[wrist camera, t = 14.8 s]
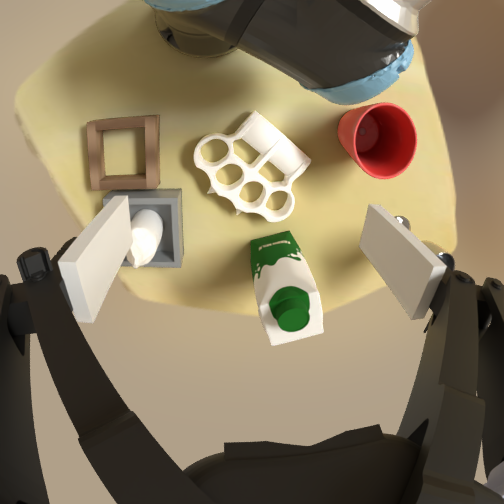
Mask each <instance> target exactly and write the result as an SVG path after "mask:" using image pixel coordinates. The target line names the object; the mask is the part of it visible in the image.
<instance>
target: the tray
mask: <svg viewBox="0 0 504 504" xmlns="http://www.w3.org/2000/svg"><path fill="white" fill-rule="evenodd" d="M127 195H128V203H129V213H130V222H131V221H132V219H133V217H134V216H135V214H136V213H137V212H138V211H140V210H143V209H150V210H152V211H155V212H156V213H157V214H159V216H160V217H161V218H162V220H163V224H164V227H163V232H162V237H161V240H160V243H159V245H158V247H157V250H156V253H155V255H154V257H153V258H152V259H151V261H150V262H149V263H148V264H145V265H142V266H139V267H172V268H181V265H182V260H183V255H184V247H183V223H182V189H122V190H112V191H110V192H109V193H108V194H107V195H106V196H105V197H104V198H103V206H104V207H105V206H106V204H107V203H108V202H109V201H110V200H111V199H112V198H113V197H114V196H127ZM121 266H132V264H131V263H130V262H129V261H128V260H127V256H125V258H124V260H123V262H122V264H121ZM132 267H133V266H132Z"/></svg>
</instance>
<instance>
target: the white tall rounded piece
mask: <svg viewBox="0 0 504 504" xmlns="http://www.w3.org/2000/svg"><path fill="white" fill-rule="evenodd" d="M130 223H131V231H132V239H133V243H132V245H131V247H130V248H129V250H128V252H127V254H126V256H127V260H128V261H129V262H130V263H131V264H132V266H133V268H135V269H137V268H138V267H139V266H142V265H145V264H148V263H149V262H150V261H151V259H152V258H153V257H154V255H155V253H156V250H157V247H158V245H159V243H160V240H161V237H162V232H163V227H164V224H163V220H162V218H161V217H160V216H159V214H157V213H156V212H155V211H152V210H150V209H143V210H140V211H138V212H137V213H136V214H135V216H134V217H133V219H132V221H131V222H130Z"/></svg>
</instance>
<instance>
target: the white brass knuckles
mask: <svg viewBox="0 0 504 504" xmlns="http://www.w3.org/2000/svg"><path fill="white" fill-rule="evenodd" d="M240 138H242V139H243V140H244V141H246V142H247V143H248V144H249V145H251V146H252V147H253V148H254V149H255V150H257V151H258V152H259V153H260V155H259V156H258V157H257V158H256V160H255V161H254V162H253V163H251V164H247V163H245V162H244V161H243V160H242V159H240V158H239V157H238V156H237V155H235V154H234V153H233V142H234V141H235V140H238V139H240ZM212 139H220V140H223V141H224V142H225V143H226V144H227V145H228V148H229V150H228V153H227V155H226V156H225V157H223V158H222V159H220V160H219V161H217V162H208V161H206V160H204V159H203V157H202V156H201V152H200V150H201V147H202V146H203V145H204V144H205V143H207V142H208V141H210V140H212ZM267 160H269V161H270V162H271V163H272V164H273V165H275V166H276V167H277V168H278V169H279V170H280V171H282V172H283V173H284V174H285V176H284V180H283V181H275V182H269V181H267V180H266V179H265V178H264V177H263V176H261V175H260V174H259V173H258V170H259V169H260V168H261V167H262V166H263V165H264V164H265V162H266V161H267ZM194 163H195V165H196V167H197V168H200V169H202V170H203V171H204V172H205V173H206V174H207V175H208V177H209V179H210V183H211V187H210V189H209V191H208V193H207V194H209V193H215V192H216V193H217V194H218V195H219V196H223V197H226V198H227V199H229V200H230V201H231V202H232V203H233V204H234V206H235V208H236V216H237V215H238V214H239V213H241V212H242V211H243V212H246V213H250V212H252V213H258V214H260V215H262V216H263V217H264V218H265V219H266V220H267V221H268V222H279V221H282V220H284V219H285V218H287V217H288V216H289V215H290V214H291V212H292V210H293V208H294V203H295V201H294V196H293V194H292V192H291V185H292V182H293V181H294V180H295V179H296V178H297V177H299V176H300V175H301V174H302V173H303V172H304V171H305V170H306V168H307V167H308V166H309V164H310V163H311V159H310V158H309V157H308V156H307V155H306V154H305V153H303V152H302V151H301V150H300V149H299V148H298V147H297V146H296V145H295V144H294V143H292V142H291V141H290V140H289V139H288V138H287V137H286V136H285V135H284V134H282V133H281V132H280V131H279V130H278V129H277V128H275V127H274V126H273V125H272V124H271V123H270V122H269V121H267V120H266V119H265V118H264V117H263V116H261V115H260V114H259V113H258V112H257V111H255V110H254V111H253V112H252V113H251V114H250V115H249V116H248V117H247V118H246V120H245V121H244V122H243V123H242V124H241V125H240V126H239V128H238V129H237V130H236V131H235V133H234V134H230V135H224V134H221V133H211V134H208V135H206V136H204V137H203V138H202V139H201V140H200V141H199V142H198V144H197V146H196V148H195V150H194ZM227 164H236V165H238V166H239V167H240V168H241V169H242V170H243V173H242V176H241V178H240V179H239V180H238V181H236V182H234V183H233V184H230V185H223V184H221V183H219V182H218V181H217V179H216V177H215V174H216V172H217V171H218V170H219V169H220V168H222V167H223V166H225V165H227ZM251 181H256V182H259V183H260V184H262V185H263V190H262V193H261V195H260V197H259V198H258V199H257V200H256V201H254V202H245V201H243V200H242V199H241V198H240V197H239V193H240V191H241V189H242V187H243V186H244V185H245V184H246V183H248V182H251ZM275 191H285V192H286V193H288V198H287V200H286V202H285V204H284V206H283V207H282V208H281V209H279V210H269V209H268V208H266V207H265V205H266V202H267V200H268V198H269V196H270V195H271V194H272V193H273V192H275Z"/></svg>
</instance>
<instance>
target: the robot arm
mask: <svg viewBox="0 0 504 504" xmlns="http://www.w3.org/2000/svg"><path fill="white" fill-rule="evenodd" d="M144 1H145V3H147V4H149V5H150V6H151V7H152V8H153V9H154V10H155V11H156V14H155V19H156V25H157V28H158V31H159V33H160V35H161V36H162V38H163V39H164V40H165V41H166V42H167V43H168V44H169V45H170V46H171V47H173V48H174V49H176V50H177V51H179V52H181V53H183V54H186V55H189V56H193V57H201V58H209V57H217V56H221V55H225V54H228V53H230V52H232V51H234V50H236V49H238V48H239V49H241V50H243V51H245V52H246V53H248V54H250V55H252V56H254V57H256V58H258V59H260V60H262V61H264V62H265V63H267V64H269V65H271V66H273V67H274V68H276V69H278V70H280V71H281V72H283V73H285V74H286V75H288V76H290V77H291V78H293V79H295V80H296V81H298V82H299V84H300V85H301V86H302V87H303V88H305V89H307V90H310V91H312V92H315V93H317V94H318V95H320V96H322V97H323V98H325V99H327V100H328V101H330V102H332V103H336V104H339V105H353V104H357V103H361V102H364V101H366V100H369V99H371V98H373V97H375V96H376V95H378V94H380V93H381V92H383V91H384V90H386V89H387V88H389V87H390V86H391V85H392V84H393V83H394V82H396V81H397V80H398V79H399V75H398V74H399V73H401V72H403V71H405V70H406V69H407V68H408V66H409V65H410V63H411V61H412V58H413V54H414V48H413V45H412V43H411V40H410V39H411V38H413V37H414V36H415V35H416V34H417V33H418V32H419V29H418V28H419V27H418V13H419V10H420V9H421V8H423V7H424V6H425V5H426V4H428V3H429V2H430V1H432V0H144ZM132 243H133V239H132V231H131V223H130V213H129V203H128V195H127V196H114V197H113V198H112V199H111V200H110V201H109V202H108V203H107V204H106V206H105V207H104V208H103V209H102V210H101V211H100V212H99V213H98V214H97V215H96V217H95V218H94V219H93V220H92V221H91V222H90V223H89V224H88V226H87V227H86V228H85V229H84V230H83V231H82V233H81V234H80V235H79V236H78V237H73V238H72V239H70V240H69V241H67V242H66V243H65V244H64V245H63V247H62V248H61V250H59V251H58V252H57V255H55V256H54V257H53V258H52V260H51V261H50V258H49V254H48V250H46V248H43V247H37V248H32V249H29V250H27V251H25V252H23V253H22V254H21V255H20V256H19V257H18V259H17V265H18V268H19V271H20V274H21V277H22V280H23V283H18V284H12V285H10V282H9V279H8V277H7V276H6V275H2V274H1V275H0V504H49V499H48V495H47V490H46V486H45V482H44V478H43V474H42V469H41V465H40V459H39V454H38V448H37V442H36V436H35V429H34V421H33V413H32V400H31V386H30V334H33V333H37V336H38V340H39V343H40V346H41V349H42V351H43V354H44V357H45V360H46V363H47V366H48V368H49V371H50V373H51V376H52V378H53V381H54V384H55V386H56V388H57V391H58V393H59V395H60V398H61V400H62V402H63V404H64V406H65V408H66V411H67V413H68V415H69V417H70V419H71V421H72V423H73V425H74V427H75V429H76V431H77V433H78V435H79V438H78V441H79V444H80V446H81V447H82V449H83V451H84V453H85V455H86V457H87V458H88V460H89V462H90V463H91V465H92V467H93V468H94V470H95V472H96V473H97V475H98V476H99V478H100V479H101V481H102V482H103V484H104V485H105V487H106V488H107V490H108V491H109V493H110V494H111V496H112V497H113V498H114V500H115V501H116V503H117V504H504V285H503V284H502V283H501V281H499V280H497V279H494V278H489V277H488V278H486V280H485V282H484V284H483V286H479V285H475V281H474V280H473V279H472V277H470V276H469V275H468V274H466V273H464V272H461V271H457V270H454V271H451V270H450V269H449V268H448V267H447V266H446V265H445V264H444V263H443V262H442V261H441V260H440V259H439V258H438V257H437V256H436V255H435V254H434V253H433V252H432V251H431V250H430V249H429V248H428V247H427V246H426V245H424V244H423V243H422V242H421V241H420V240H419V239H418V238H417V237H416V236H415V235H414V234H413V233H412V232H410V231H409V230H408V229H407V228H406V227H405V226H404V225H403V224H402V223H400V222H399V221H398V220H397V219H396V218H395V217H394V216H393V215H391V214H390V213H389V212H388V211H387V210H386V209H384V208H383V207H382V206H381V205H376V204H369V205H368V210H367V214H366V219H365V223H364V227H363V231H362V236H361V240H360V244H359V248H360V249H361V250H362V252H363V253H364V254H365V255H366V257H367V258H368V259H369V261H370V262H371V263H372V265H373V266H374V268H375V269H376V270H377V272H378V273H379V274H380V276H381V277H382V278H383V280H384V281H385V283H386V284H387V285H388V287H389V288H390V290H391V291H392V292H393V294H394V295H395V297H396V298H397V300H398V301H399V302H400V304H401V305H402V307H403V308H404V310H405V311H406V313H407V314H408V316H409V317H410V319H411V320H415V319H423V318H424V317H425V315H426V313H427V311H428V309H429V307H430V309H431V310H432V311H433V314H432V316H431V318H430V320H429V322H428V324H427V326H426V328H425V330H424V333H426V331H427V330H428V331H427V335H426V340H425V344H424V349H423V353H422V357H421V361H420V365H419V368H418V372H417V376H416V379H415V382H414V386H413V389H412V393H411V396H410V399H409V402H408V405H407V408H406V411H405V414H404V416H403V419H402V422H401V425H400V427H399V430H398V432H397V434H396V435H391V434H383V433H382V430H381V428H380V425H379V424H377V425H373V426H369V427H364V428H360V429H355V430H349V431H345V432H343V433H341V434H339V435H336V436H334V437H332V438H330V439H327V440H324V441H322V442H320V443H317V444H315V445H312V446H300V445H290V444H282V443H274V442H268V441H263V442H262V441H261V442H234V443H224V452H222V453H218V454H214V455H211V456H208V457H205V458H203V459H201V460H199V461H197V462H195V463H193V464H192V465H190V466H189V467H187V468H186V469H185V470H183V471H182V470H181V469H180V468H179V467H178V465H177V464H176V463H175V462H174V461H173V460H172V459H171V458H170V457H169V455H168V454H167V453H166V452H165V451H164V449H163V448H162V447H161V446H160V445H159V444H158V442H157V441H156V440H155V438H154V437H153V436H152V435H151V434H150V433H149V431H148V430H147V429H146V427H145V426H144V424H143V423H142V422H141V421H140V419H139V418H138V417H137V415H136V414H135V413H134V412H133V411H130V409H128V407H127V405H126V404H125V403H124V401H123V400H122V398H121V397H120V395H119V394H118V392H117V391H116V389H115V388H114V386H113V385H112V383H111V381H110V380H109V378H108V377H107V375H106V374H105V372H104V370H103V369H102V367H101V365H100V364H99V362H98V360H97V359H96V357H95V355H94V353H93V352H92V350H91V348H90V346H89V344H88V343H87V341H86V339H85V337H84V335H83V333H82V331H81V330H80V328H79V326H78V324H77V322H76V320H77V321H78V322H86V323H94V320H95V319H96V316H97V314H98V312H99V309H100V307H101V305H102V303H103V301H104V299H105V297H106V294H107V292H108V290H109V288H110V286H111V284H112V282H113V280H114V278H115V276H116V274H117V272H118V270H119V268H120V266H121V264H122V262H123V260H124V258H125V256H126V254H127V252H128V250H129V248H130V247H131V245H132ZM72 311H73V312H74V315H75V318H76V320H75V318H74V316H73V314H72ZM490 322H491V323H490ZM489 324H490V325H489ZM488 325H489V327H488ZM476 391H477V396H478V397H477V396H476ZM481 441H482V446H483V460H484V466H485V474H486V478H487V483H485V484H484V485H482V484H480V483H479V482H477V481H475V480H474V477H475V473H476V468H477V463H478V458H479V453H480V447H481Z"/></svg>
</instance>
